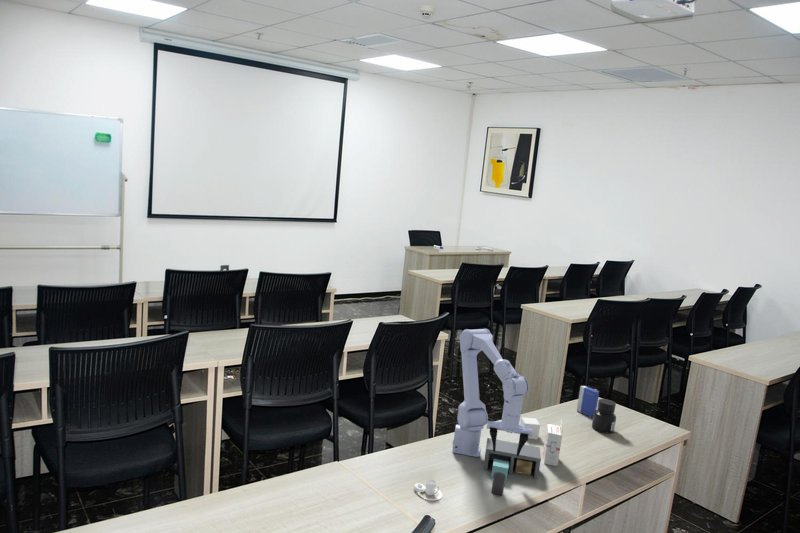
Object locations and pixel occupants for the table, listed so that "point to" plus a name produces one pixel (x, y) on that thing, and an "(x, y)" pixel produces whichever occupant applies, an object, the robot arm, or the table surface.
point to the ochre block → (523, 466)
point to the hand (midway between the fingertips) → (505, 452)
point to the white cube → (531, 426)
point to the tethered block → (499, 476)
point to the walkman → (587, 400)
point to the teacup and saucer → (429, 489)
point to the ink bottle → (604, 416)
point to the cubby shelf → (512, 454)
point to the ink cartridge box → (552, 444)
